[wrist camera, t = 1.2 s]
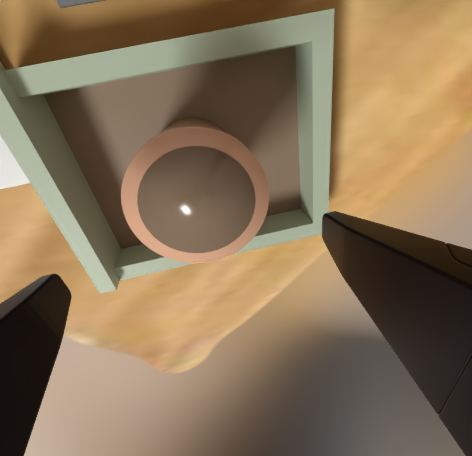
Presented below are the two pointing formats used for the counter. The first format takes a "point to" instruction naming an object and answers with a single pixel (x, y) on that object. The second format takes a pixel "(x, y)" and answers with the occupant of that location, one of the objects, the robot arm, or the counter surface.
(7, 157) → the white square board
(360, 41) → the counter surface
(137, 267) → the green shallow rectangular frame
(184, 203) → the pot
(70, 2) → the mat
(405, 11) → the counter surface
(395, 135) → the counter surface
